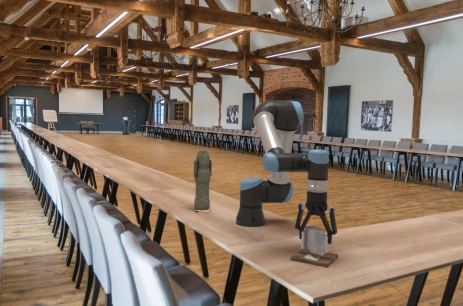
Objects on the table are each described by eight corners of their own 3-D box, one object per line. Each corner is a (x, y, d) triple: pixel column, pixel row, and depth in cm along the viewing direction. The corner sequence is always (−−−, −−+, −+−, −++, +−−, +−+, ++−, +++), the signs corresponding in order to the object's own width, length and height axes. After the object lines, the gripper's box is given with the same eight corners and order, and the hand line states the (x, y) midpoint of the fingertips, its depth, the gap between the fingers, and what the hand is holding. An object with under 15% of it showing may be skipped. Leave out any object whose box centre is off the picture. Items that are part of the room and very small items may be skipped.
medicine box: (325, 253, 147) (326, 230, 147) (314, 254, 146) (315, 231, 145) (315, 247, 155) (316, 225, 154) (304, 247, 154) (305, 225, 153)
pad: (303, 250, 160) (303, 247, 160) (337, 256, 153) (338, 253, 153) (290, 260, 148) (290, 256, 148) (327, 267, 141) (327, 263, 141)
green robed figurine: (214, 210, 233) (215, 151, 231) (199, 213, 224) (200, 152, 222) (204, 208, 239) (205, 150, 237) (189, 211, 230) (190, 151, 228)
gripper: (286, 189, 151) (285, 247, 152) (343, 195, 140) (340, 257, 142) (294, 186, 158) (292, 242, 159) (348, 192, 147) (345, 252, 148)
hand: (314, 249), depth 150 cm, fingers closed on medicine box, 8 cm apart
